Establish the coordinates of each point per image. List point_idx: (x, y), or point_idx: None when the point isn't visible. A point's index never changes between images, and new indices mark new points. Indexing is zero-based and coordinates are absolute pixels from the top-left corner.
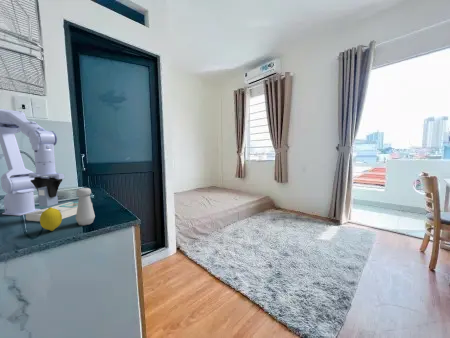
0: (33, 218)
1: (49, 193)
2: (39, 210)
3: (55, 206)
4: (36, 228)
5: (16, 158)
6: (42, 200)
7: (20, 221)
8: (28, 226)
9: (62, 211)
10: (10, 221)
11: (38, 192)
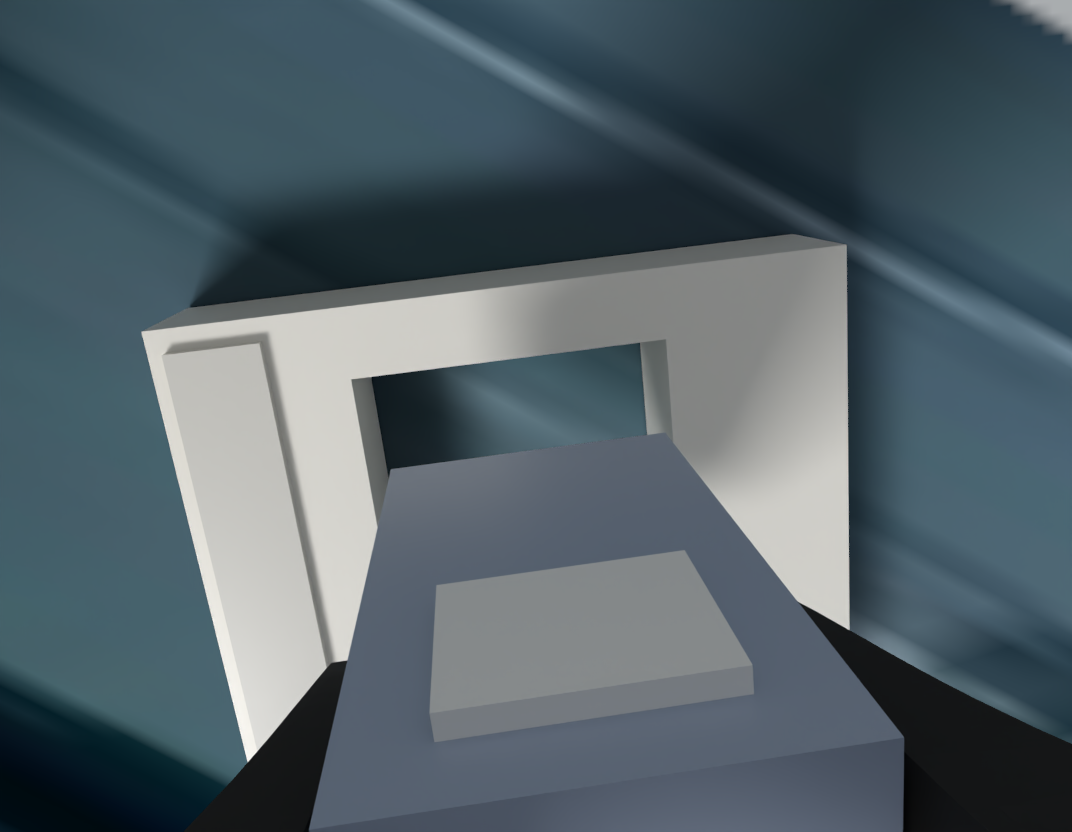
0: (622, 259)
1: (283, 729)
2: (823, 486)
3: None
4: (84, 6)
5: None
6: (553, 506)
7: (824, 157)
8: (361, 28)
9: (236, 589)
10: (1005, 95)
11: (771, 615)
